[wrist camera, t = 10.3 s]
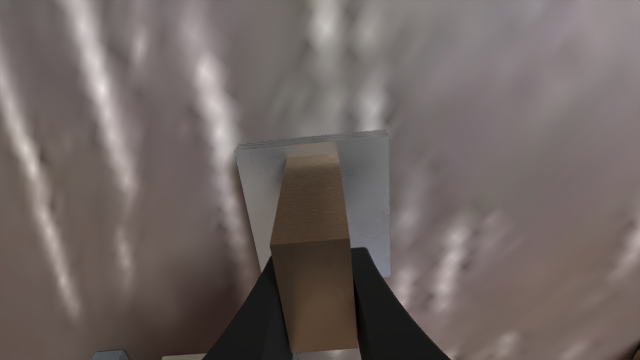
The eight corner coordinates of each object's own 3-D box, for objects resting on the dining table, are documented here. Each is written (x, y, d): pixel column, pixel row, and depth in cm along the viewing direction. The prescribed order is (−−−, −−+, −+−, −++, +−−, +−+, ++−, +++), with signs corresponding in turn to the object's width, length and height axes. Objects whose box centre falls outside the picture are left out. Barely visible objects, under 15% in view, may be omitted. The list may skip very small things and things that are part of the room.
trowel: (385, 129, 14) (432, 214, 8) (387, 265, 17) (422, 395, 11) (238, 143, 14) (185, 235, 8) (266, 275, 17) (241, 407, 12)
